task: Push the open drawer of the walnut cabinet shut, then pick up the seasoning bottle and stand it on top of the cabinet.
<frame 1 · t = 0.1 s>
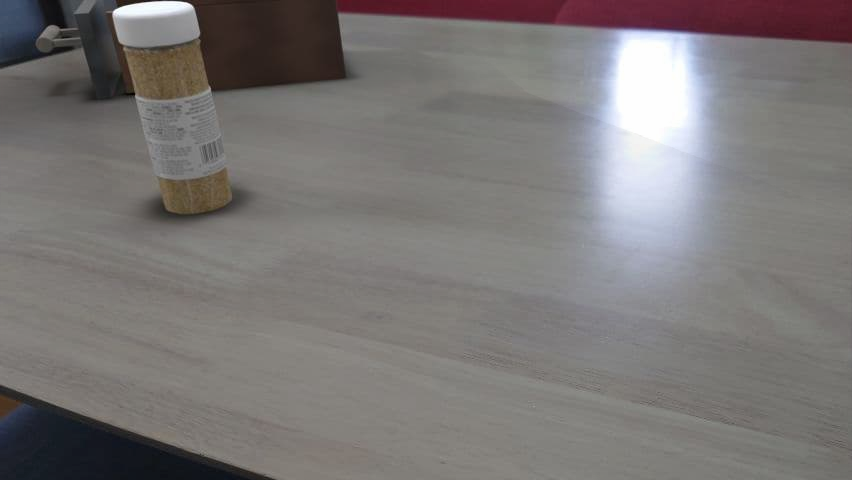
drawer: (145, 41, 80), point 5 cm above the table, slide at 7.0 cm
seasoning bottle: (202, 218, 55), on the table
cabinet: (268, 80, 86), on the table
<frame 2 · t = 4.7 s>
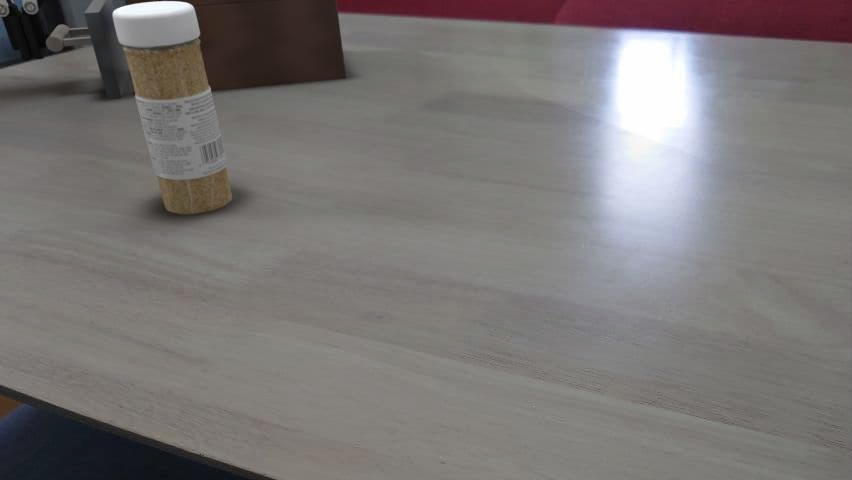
hand: (35, 56, 78), 4 cm above the table, tool pointing down, fingers closed
drawer: (154, 41, 80), point 5 cm above the table, slide at 6.2 cm, touching gripper
everything else where it was.
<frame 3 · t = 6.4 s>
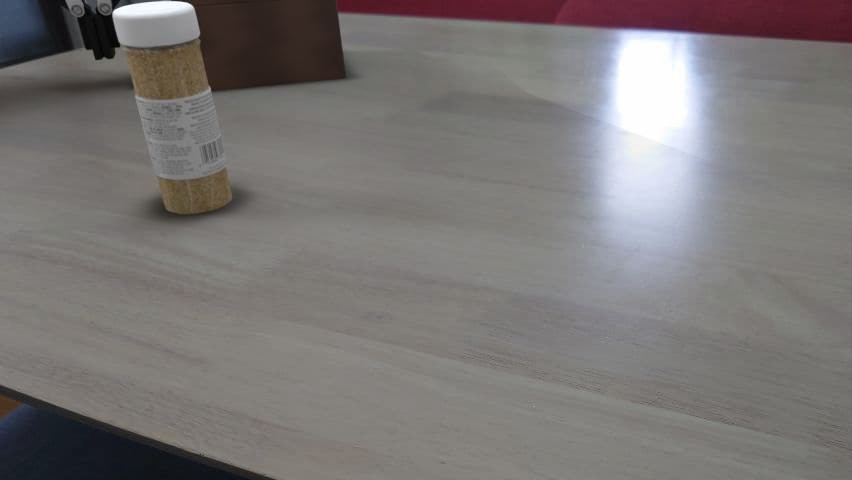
hand: (105, 56, 80), 4 cm above the table, tool pointing down, fingers closed
drawer: (220, 35, 82), point 5 cm above the table, slide at 0.0 cm, touching cabinet, gripper
everything else where it was.
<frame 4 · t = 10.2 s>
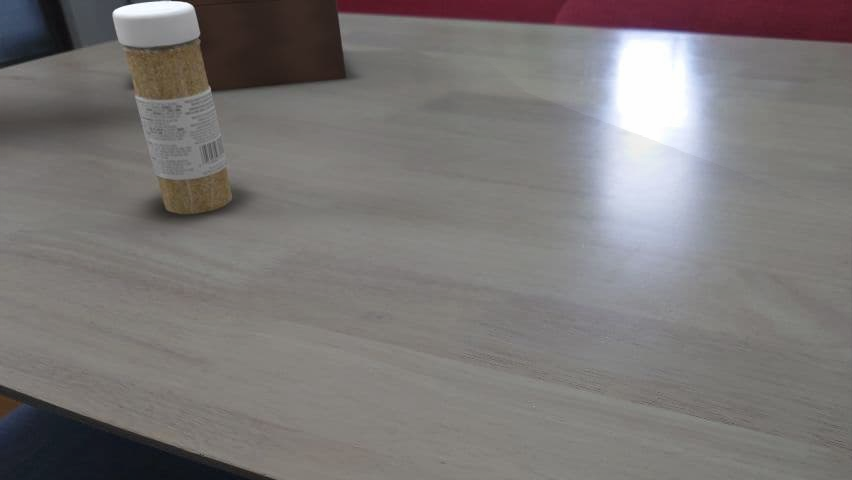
drawer: (220, 35, 82), point 5 cm above the table, slide at 0.0 cm
everything else where it was.
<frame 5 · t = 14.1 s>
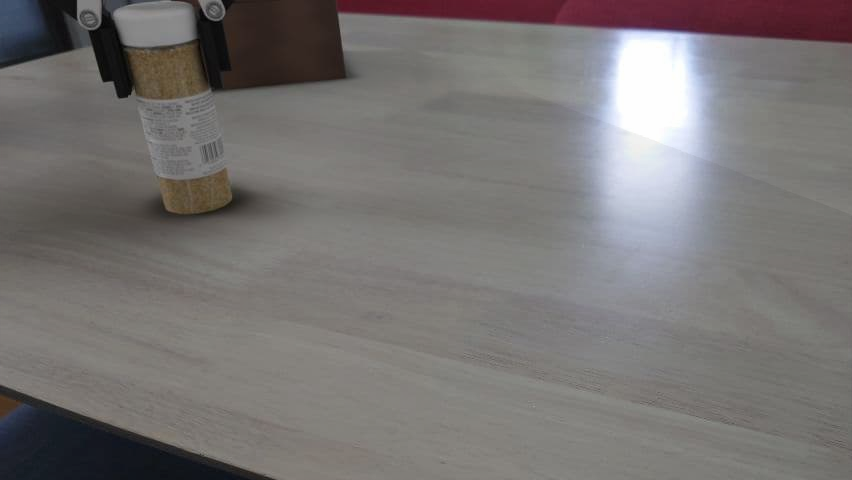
hand: (171, 85, 51), 9 cm above the table, tool pointing down, fingers closed on seasoning bottle, 4 cm apart
seasoning bottle: (202, 218, 55), on the table, touching gripper
everything else where it was.
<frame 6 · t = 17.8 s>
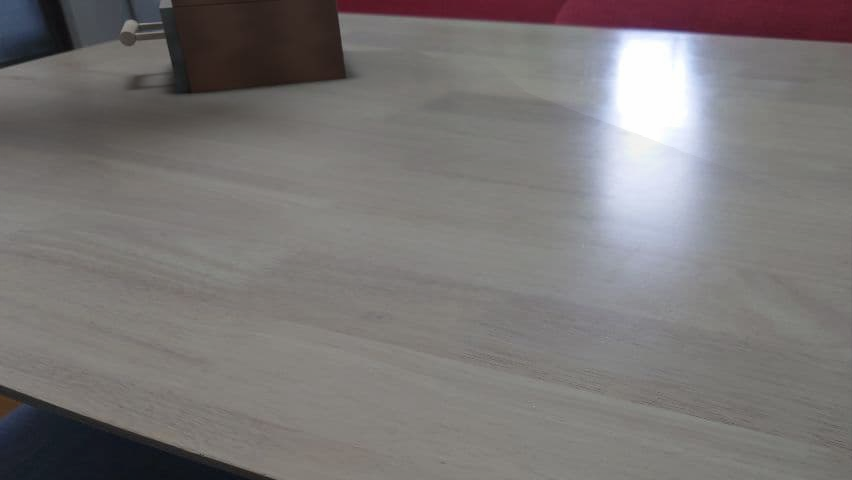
when the fingers open (18 cm above the table, at t = 21.6 s): seasoning bottle stays where it is, resting on cabinet.
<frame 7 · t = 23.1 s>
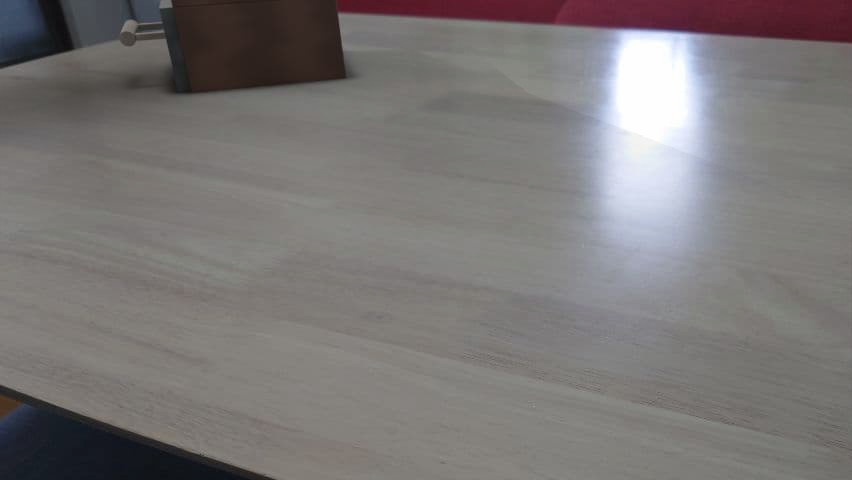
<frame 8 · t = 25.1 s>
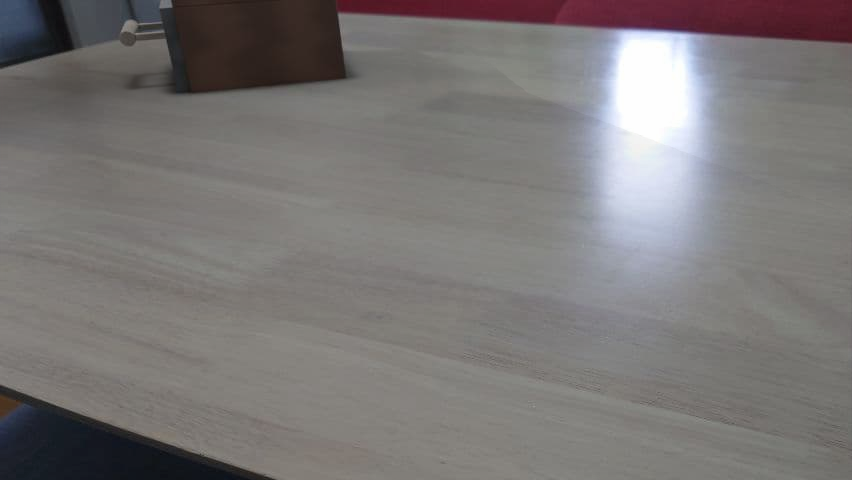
at the end: drawer slide at 0.0 cm; seasoning bottle inside the target area on the cabinet (0.1 cm from its centre), point 9.4 cm above the cabinet's base; seasoning bottle tilted 0° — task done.
